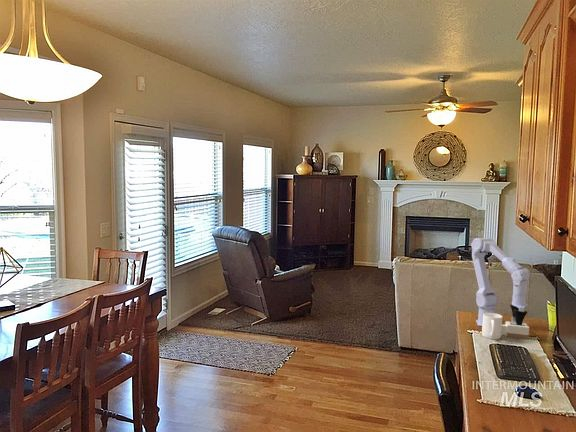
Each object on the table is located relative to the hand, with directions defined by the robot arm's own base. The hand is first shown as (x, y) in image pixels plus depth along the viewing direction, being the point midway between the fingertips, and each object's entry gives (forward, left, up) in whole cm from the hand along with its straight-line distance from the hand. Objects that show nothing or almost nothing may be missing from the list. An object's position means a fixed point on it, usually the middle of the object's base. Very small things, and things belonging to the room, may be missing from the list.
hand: (517, 322), depth 223 cm
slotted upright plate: (0, -5, -6) cm, 8 cm away
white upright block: (0, 0, -4) cm, 4 cm away
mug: (+8, -12, -7) cm, 16 cm away
